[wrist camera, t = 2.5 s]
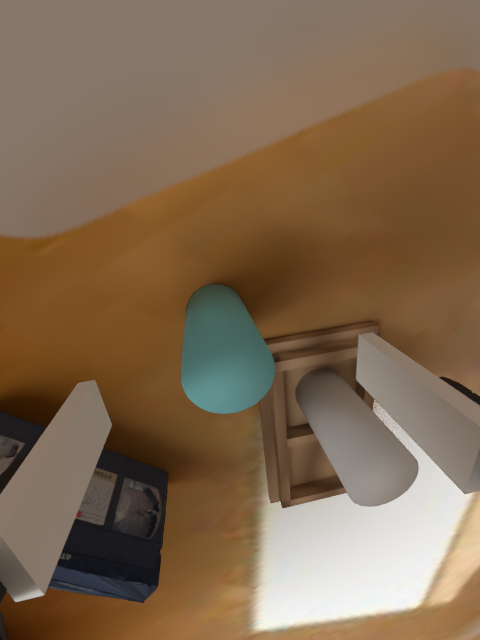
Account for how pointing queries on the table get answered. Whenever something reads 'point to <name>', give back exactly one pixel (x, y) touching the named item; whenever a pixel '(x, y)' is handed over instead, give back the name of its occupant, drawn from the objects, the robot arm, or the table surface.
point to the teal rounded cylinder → (223, 353)
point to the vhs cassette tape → (104, 521)
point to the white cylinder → (355, 439)
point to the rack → (290, 422)
